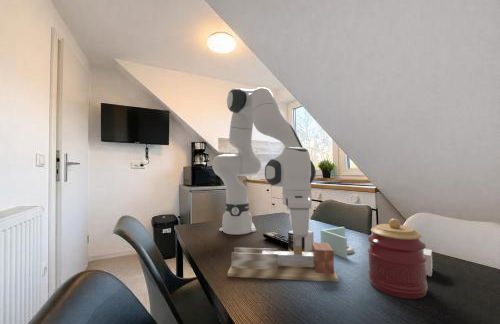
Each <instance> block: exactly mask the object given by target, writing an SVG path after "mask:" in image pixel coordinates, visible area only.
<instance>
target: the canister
mask: <svg viewBox="0 0 500 324" xmlns="http://www.w3.org/2000/svg"><path fill="white" fill-rule="evenodd" d="M370 232H371V234H370V235H368V236H367V240H368V242H369V247H368V249H367V251H368V278H369V282H370V284H371V285H372V287H374V288H375V289H377V290H378V291H380V292H382V293H385V294H387V295H389V296H392V297H397V298H401V299H411V300H413V299H414V300H415V299H421V298H424V297H425V296H426V295H427V291H428V282H427V275H426V257H425V256H424V252H423V250H424V249H427V248H426V247H427V245H426V243H425V242H423V241H422V240H421V238H422V234H421V233H420V232H418V231H416V230H415V229H414V228H413V227H409V226H406V225H403V224H402V225H401V222H400V220H399V219H398V218H391V219H389V221H388V223H378V224H377V225H376V226H373V227H371V228H370Z"/></svg>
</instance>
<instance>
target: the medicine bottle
mask: <svg viewBox="0 0 500 324" xmlns="http://www.w3.org/2000/svg"><path fill="white" fill-rule="evenodd" d="M309 228H310V224H309V225H308V234H307V237H302V252H312V243H315V241H314V231H313V230H310V229H309ZM287 243H288V245H287V247H288V250H287V251H289V252H294V247H293V231H292V230H289V231H288V232H287Z"/></svg>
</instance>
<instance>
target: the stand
mask: <svg viewBox="0 0 500 324" xmlns="http://www.w3.org/2000/svg"><path fill="white" fill-rule="evenodd" d="M262 251H278V248H267V247H266V248H263V247H262V248H261V247H259V248H258V247H234V249H233V251H232V252H231V265H230V267H229V269H228V272H227V277H228V278H229V277H231V278H252V279H255V278H256V279H271V280H273V279H275V280H294V281H295V280H297V281H315V282H317V281H318V282H333V283H334V282H336V283H339V276H338V275H337V273H336V271H335V261H334V260H335V258H334V257H335V254H334V251H333V249H332V248H331V246H330V245H329V244H328V243H321V242H314V243H312V251H311V252H314V254H315V267H301V266H278V254H264V253H262Z"/></svg>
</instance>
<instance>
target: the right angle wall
mask: <svg viewBox="0 0 500 324" xmlns="http://www.w3.org/2000/svg"><path fill="white" fill-rule="evenodd" d="M345 230H346V227H344V226H340V227H333V228H332V227H331V228H326V229H320V243H328V244H329V245H330V246H331V248H332V249H333V251H334V255H336V256H338V257H340V258H343V259H347V258H348V255H352V254H353V255H354V251H355V250H354V247H353V246H351V245H347V239H348V238H347V237H346V231H345Z"/></svg>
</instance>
